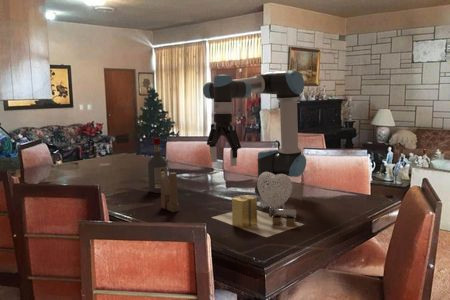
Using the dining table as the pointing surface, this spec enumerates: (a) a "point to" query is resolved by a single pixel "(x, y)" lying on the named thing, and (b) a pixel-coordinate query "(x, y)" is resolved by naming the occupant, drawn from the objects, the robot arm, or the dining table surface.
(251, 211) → the yellow tall block
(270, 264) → the dining table surface
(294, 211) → the grey brown bridge piece
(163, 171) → the liquor
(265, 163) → the robot arm
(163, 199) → the wooden block
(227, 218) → the board
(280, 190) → the decorative heart
